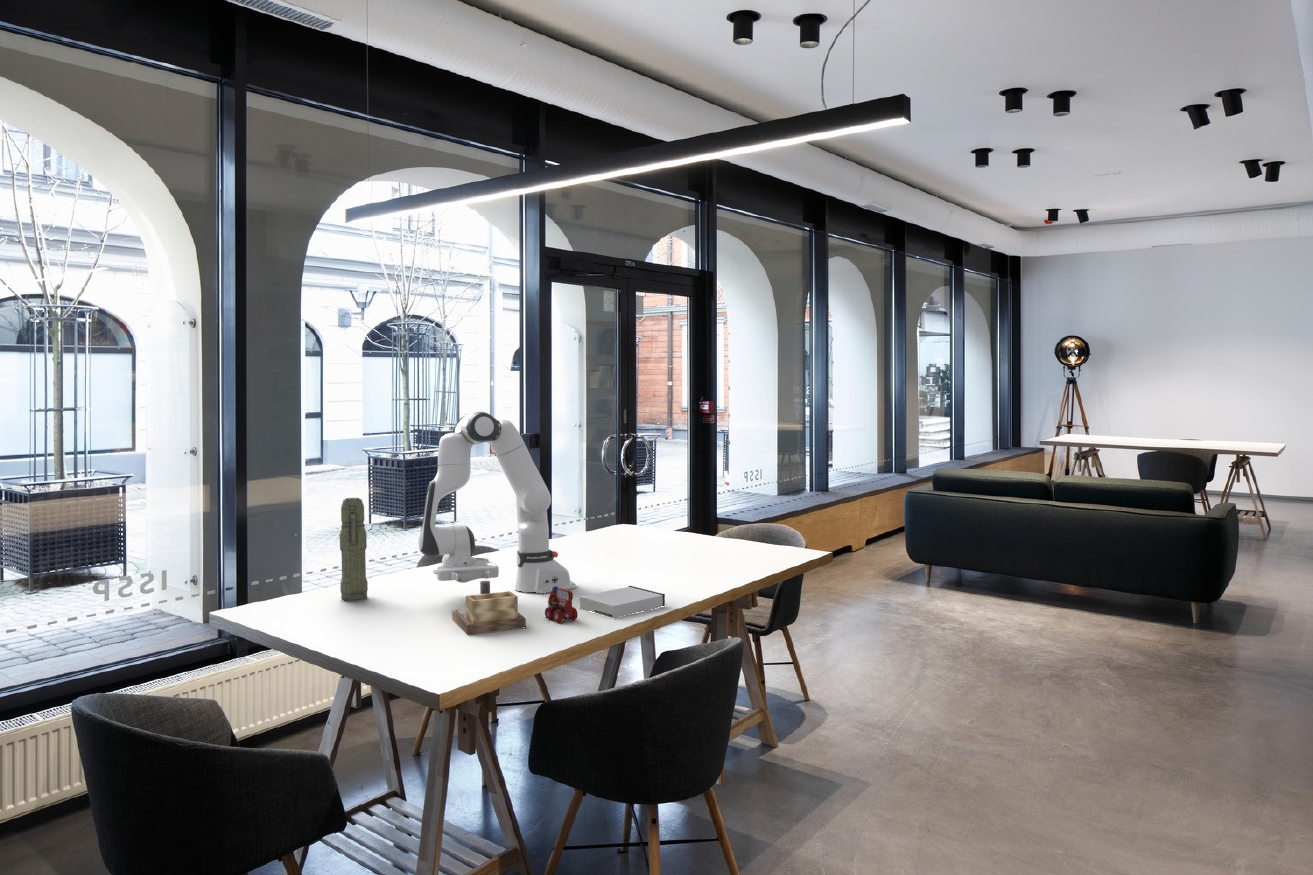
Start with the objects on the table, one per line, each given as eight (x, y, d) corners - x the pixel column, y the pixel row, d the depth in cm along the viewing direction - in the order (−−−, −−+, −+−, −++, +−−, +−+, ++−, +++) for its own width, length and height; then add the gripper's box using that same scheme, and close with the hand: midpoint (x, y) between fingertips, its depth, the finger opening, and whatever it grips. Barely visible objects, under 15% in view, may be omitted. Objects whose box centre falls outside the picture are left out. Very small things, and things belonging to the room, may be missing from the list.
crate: (505, 612, 287) (505, 578, 286) (517, 622, 275) (517, 586, 275) (462, 617, 281) (461, 582, 280) (472, 627, 269) (472, 591, 269)
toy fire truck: (559, 614, 292) (559, 582, 291) (580, 621, 282) (580, 589, 281) (541, 617, 287) (540, 585, 287) (562, 625, 278) (561, 592, 277)
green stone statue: (343, 603, 305) (341, 501, 303) (338, 596, 316) (336, 497, 314) (370, 600, 309) (368, 499, 307) (364, 593, 320) (362, 496, 318)
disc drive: (665, 608, 301) (665, 594, 300) (613, 620, 285) (613, 605, 285) (630, 599, 314) (630, 585, 313) (579, 610, 298) (579, 595, 298)
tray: (507, 613, 292) (507, 604, 292) (525, 627, 275) (525, 617, 275) (452, 619, 284) (452, 610, 284) (467, 634, 267) (467, 624, 267)
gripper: (432, 561, 300) (441, 569, 288) (492, 558, 309) (503, 565, 297) (431, 580, 300) (441, 588, 288) (491, 576, 309) (503, 584, 297)
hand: (473, 576), depth 292 cm, fingers open, 8 cm apart
